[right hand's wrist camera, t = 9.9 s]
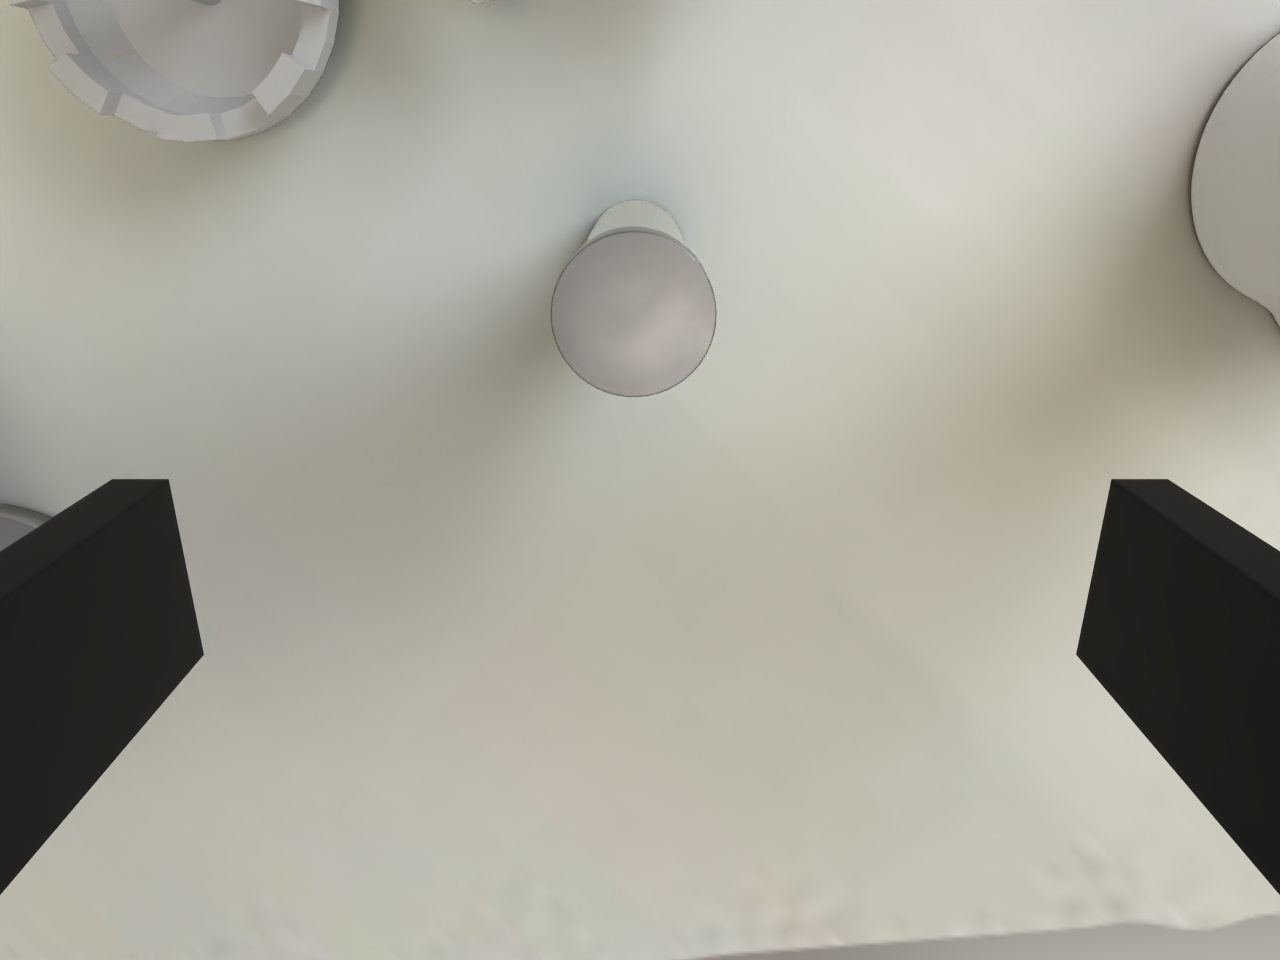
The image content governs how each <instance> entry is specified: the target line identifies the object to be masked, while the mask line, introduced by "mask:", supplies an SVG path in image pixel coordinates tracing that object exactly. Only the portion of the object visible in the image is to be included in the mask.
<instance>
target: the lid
mask: <svg viewBox="0 0 1280 960" xmlns="http://www.w3.org/2000/svg"><path fill="white" fill-rule="evenodd" d="M551 324H552V331H553V335H554V338H555V342H556V344H557V346H558V349H559V351H560V353H561V355H562V356H563V358H564V360H565V361H566V363H567V364H568V365H569V366H570V368H571V369H572V370H573V371H574V372H575V373H576V374H577V375H578V376H579V377H580V378H582V379H583V380H584V381H586V382H587V383H588V384H590V385H592V386H594V387H595V388H597V389H600V390H602V391H604V392H607V393H610V394H614V395H618V396H625V397H642V396H649V395H653V394H658V393H660V392H663V391H666V390H668V389H670V388H672V387H674V386H676V385H678V384H679V383H680V382H682V381H683V380H685V379H686V378H687V377H688V376H689V375H690V374H691V373H692V372H694V370H695V369H696V368H697V367H698V366H699V364H700V363H701V362H702V360H703V359H704V357H705V355H706V354H707V352H708V349H709V347H710V345H711V342H712V339H713V336H714V332H715V326H716V302H715V297H714V293H713V289H712V287H711V284H710V281H709V279H708V277H707V275H706V273H705V271H704V269H703V267H702V265H701V264H700V262H699V261H698V259H697V258H696V256H695V255H694V254H693V253H692V252H691V251H690V250H689V249H688V248H687V247H686V246H685V245H684V244H683V243H681V242H680V241H679V240H677V239H676V238H674V237H672V236H671V235H669V234H666V233H664V232H662V231H659V230H656V229H652V228H647V227H641V226H628V227H619V228H616V229H612V230H608V231H606V232H603V233H601V234H599V235H597V236H595V237H594V238H592V239H590V240H589V241H588V242H586V243H585V244H584V245H582V246H581V247H580V248H579V249H578V250H577V251H576V252H575V253H574V255H573V256H572V257H571V259H570V260H569V261H568V263H567V265H566V266H565V268H564V270H563V272H562V273H561V275H560V277H559V279H558V281H557V284H556V286H555V289H554V293H553V297H552V303H551Z"/></svg>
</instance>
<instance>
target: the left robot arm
mask: <svg viewBox="0 0 1280 960" xmlns="http://www.w3.org/2000/svg"><path fill="white" fill-rule="evenodd" d="M470 1H471V2H473V3H481V2H489V1H495V0H470ZM1191 205H1192V215H1193V221H1194V226H1195V230H1196V233H1197V236H1198V239H1199V242H1200V245H1201V247H1202V249H1203V251H1204V253H1205V255H1206V257H1207V259H1208V260H1209V262H1210V263H1211V265H1212V266H1213V268H1214V269H1215V270H1216V271H1217V273H1218V274H1219V275H1220V276H1221V277H1222V278H1223V279H1224V280H1225V281H1226V282H1227V283H1228V284H1229V285H1231V286H1232V287H1233V288H1234V289H1236V290H1237V291H1239V292H1240V293H1242V294H1244V295H1245V296H1247V297H1249V298H1251V299H1252V300H1254V301H1256V302H1258V303H1259V304H1261V305H1262V306H1264V307H1265V308H1266V309H1268V310H1269V311H1270V312H1271V313H1272V315H1273V316H1274V318H1275V320H1276V322H1277V324H1278V325H1279V327H1280V33H1279V34H1278V35H1277V36H1275V37H1274V38H1273V39H1272V40H1270V41H1269V42H1268V43H1267V44H1266V45H1265V46H1263V47H1262V48H1261V49H1260V50H1259V51H1258V52H1257V53H1256V54H1255V55H1254V56H1253V57H1252V58H1251V59H1250V60H1249V61H1248V62H1247V63H1246V64H1245V66H1244V67H1243V68H1242V69H1241V70H1240V71H1239V73H1238V74H1237V75H1236V76H1235V77H1234V79H1233V80H1232V82H1231V83H1230V84H1229V86H1228V87H1227V89H1226V90H1225V92H1224V93H1223V95H1222V96H1221V98H1220V100H1219V101H1218V103H1217V105H1216V107H1215V108H1214V110H1213V112H1212V114H1211V116H1210V118H1209V120H1208V122H1207V125H1206V127H1205V130H1204V132H1203V135H1202V138H1201V141H1200V144H1199V147H1198V150H1197V154H1196V158H1195V163H1194V168H1193V175H1192V185H1191Z"/></svg>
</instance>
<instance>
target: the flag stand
mask: <svg viewBox="0 0 1280 960" xmlns="http://www.w3.org/2000/svg"><path fill="white" fill-rule="evenodd" d="M9 4H10V5H12V6H17V7H22V8H26V9H28V10H29V12H30V14H31V16H32V19H33V21H34V23H35V25H36V27H37V29H38V31H39V33H40V35H41V37H42V39H43V41H44V43H45V44H46V45H47V47H48V48H49V50H50V51H51V53H52V54H53V56H54V57H55V58H56V61H54V62H53V63H52V64H51V65H50V66H49V67H48V70H49V71H50V72H51V73H52V74H53V75H54V76H55V77H56V78H57V79H58V80H59V81H60V82H61V83H62V84H63V85H64V86H65V87H66V88H67V89H68V90H69V91H70V92H71V94H73V95H74V96H75V97H77V98H78V99H79V100H81V101H82V102H83V103H85V104H86V105H87V106H89V107H90V108H91V109H93V110H94V111H95V112H97V113H98V114H102V115H115V116H117V117H118V118H120V119H122V120H124V121H126V122H128V123H130V124H132V125H134V126H136V127H138V128H139V129H141V130H144V131H147V132H151V133H154V134H157V135H158V139H164V140H173V141H183V142H217V141H226V140H236V139H242V138H245V137H247V136H250V135H253V134H256V133H259V132H262V131H265V130H267V129H269V128H270V127H272V126H273V125H275V124H277V123H278V122H280V121H281V120H283V119H285V118H286V117H288V116H289V115H290V114H291V113H292V112H293V111H294V110H295V109H296V108H297V107H298V106H299V105H300V104H301V103H302V102H303V101H304V100H305V99H306V98H307V97H308V96H309V94H310V93H311V91H312V90H313V88H314V86H315V85H316V83H317V82H318V80H319V79H320V77H321V75H322V74H323V72H324V69H325V67H326V64H327V61H328V59H329V56H330V53H331V51H332V48H333V45H334V41H335V35H336V29H337V23H338V17H339V0H9Z"/></svg>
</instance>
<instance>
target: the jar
mask: <svg viewBox="0 0 1280 960" xmlns="http://www.w3.org/2000/svg"><path fill="white" fill-rule="evenodd" d="M628 226H641V227H647V228H652V229H656V230H659V231H662V232H664V233H666V234H669V235H671V236H672V237H674V238H676V239H677V240H679V241H680V242H681V243H683V244H684V245H685V246H686V247H687V245H686V243H685V240H684V238H683V236H682V234H681V231H680V229H679V227H678V225H677V223H676V222H675V220H674V219H673V218H672V216H671V215H670V214H669V213H668V212H667V211H665V210H664V209H663V208H661V207H660V206H658V205H656V204H654V203H651V202H648V201H643V200H629V201H624V202H621V203H618V204H616V205H614V206H612V207H611V208H609V209H608V210H607V211H605V212H604V213H603V214H602V215H601V216H600V218H599V219H598V220H597V222H596V223H595V225H594V227H593V229H592V231H591V233H590V234H589V236H588V238H587V240H586V242H588V241H589V240H590V239H592V238H594V237H595V236H597V235H599V234H601V233H603V232H606V231H608V230H612V229H616V228H619V227H628ZM586 242H585V243H586ZM687 248H688V247H687Z"/></svg>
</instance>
